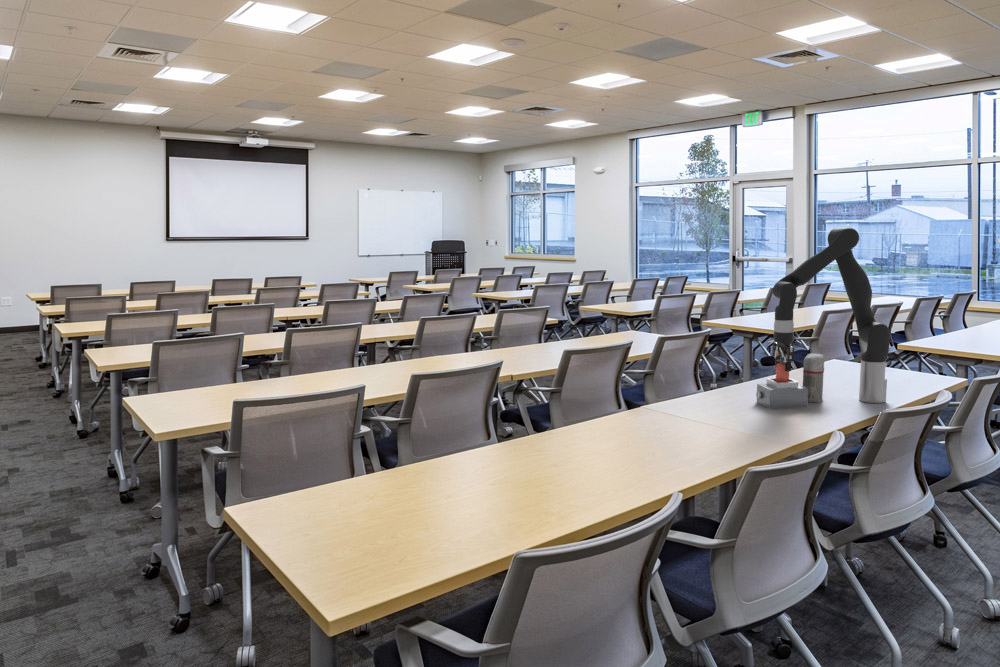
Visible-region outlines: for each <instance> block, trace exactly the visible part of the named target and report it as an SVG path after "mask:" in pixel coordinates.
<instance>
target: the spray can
mask: <svg viewBox="0 0 1000 667" xmlns="http://www.w3.org/2000/svg"><path fill="white" fill-rule="evenodd" d="M825 357H826V356H824V354H822V353H811V352H810V353H808V354H807V355H806V356H805V357H804V359H803V365H802V368H803V369H802V370H803V371H802V373H803V374H802V375H803V376H802V386H804V387H806V388H808V402H809V403H821V402H822V401H824V399H823V390H824V372H825V361H826V359H825ZM808 402H807V403H808Z"/></svg>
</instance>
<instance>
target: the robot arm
mask: <svg viewBox="0 0 1000 667" xmlns="http://www.w3.org/2000/svg"><path fill="white" fill-rule="evenodd" d="M859 241H860V234H859V232H858V231H857V230H856V229H855V228H852V227H835V228H832V229H831V230H830V231H829V233H828V235H827V244H828V246H827V247H825V248H824V249H823V250H821V251H819V252H818V253H816V254H814V255H812V256H811V257H809V258H808V259H806V260H805V261H804V262H802V263H801V264H800V265H798V267H796V268H795V269H794V270H793V271H792V272H791V273H789V274H787V275H785V276H784V277H782V278H780V279H779V280H778V281H777V282H775V284H774V285H773V288H772V294H773V296H774V297H775V298H777V299H779V303H778V305H776V306H775V310H774V323H773V342H772V355H771V356H772V357H774V359H775V360H774V361H775V363H774V364H775V365H774V366H775V368H776V364H777V363H780V362H777V360H782V358H783V360H784V361H785V371H789V372H791V371H792V363H793V362H795V347H794V346H791V344H792V343H793V342H794V335H795V334H794V329H795V328H794V327H795V325H794V309H795V305H796V301H797V297H798V290H797V288H798V287H800V286H804V285H806V284H808V282H809V281H811V280H812V279H813V278H814V277H816V275H818V274H819V273H820V272H821V271H822V270H823V269H825V268H826V267H828V266H829V265H830V264H831V263H833V262H834V261H835V262H836V265H837V267H838V270H839V273H840V277H841V279H842V283H843V285H844V286H843V287H844V289H845V292H846V295H847V297H848V301H849V303H850V307H851V310H852V312H853V316H854V319H855V324H856V328H857V333H858V336H859V339H860V340H861V341H862V342H864V343H866V346H867V347H866V350H865V351H864V352H862V353H861V354H860V369H859V372H860V374H859V388H858V389H859V390H858V391H859V392H858V400H859V402H863V403H870V404H880V403H884V402H885V403H886V402H887V388H888V387H887V386H888V379H887V378H886V364H887V357H888V355H889V353H890V352H889V350H890V344H891V343H890V341H891V331H890V328H889V327H888V325H886V324H884V323H882V322H877V321H876V319H875V317H874V314H873V312H872V299H873V290H872V286H871V285H872V284H871V283H870V280H869V277H868V274H867V273H866V272H865V270H864V269H863V268H862V266H861V265H860V264H859V263H858V261H857V260H856V258H855V255H854V254H853V249H854V248H855V247H857V245H858V243H859Z"/></svg>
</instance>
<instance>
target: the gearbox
mask: <svg viewBox="0 0 1000 667" xmlns="http://www.w3.org/2000/svg"><path fill="white" fill-rule="evenodd" d="M755 394H756V395H755V397H756V403H757V404H759V405H761V406H762V407H764V408H766V409H768V410H781V409H782V410H783V409H804V408H805V409H806V408H808V388H806V387H804V386H803V385H801V384H799V381H797V380H795V379H792V378H790V377H789V382H776V377H772V378H771V377H769V378H766V382H765V383H756V393H755Z"/></svg>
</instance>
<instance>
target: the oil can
mask: <svg viewBox="0 0 1000 667" xmlns="http://www.w3.org/2000/svg"><path fill="white" fill-rule="evenodd" d="M777 362H780V363H777V364H776V367H775V370H776V371H775V378H776V382H789V378H790V371H785V360H784V359H781V360H777Z"/></svg>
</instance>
